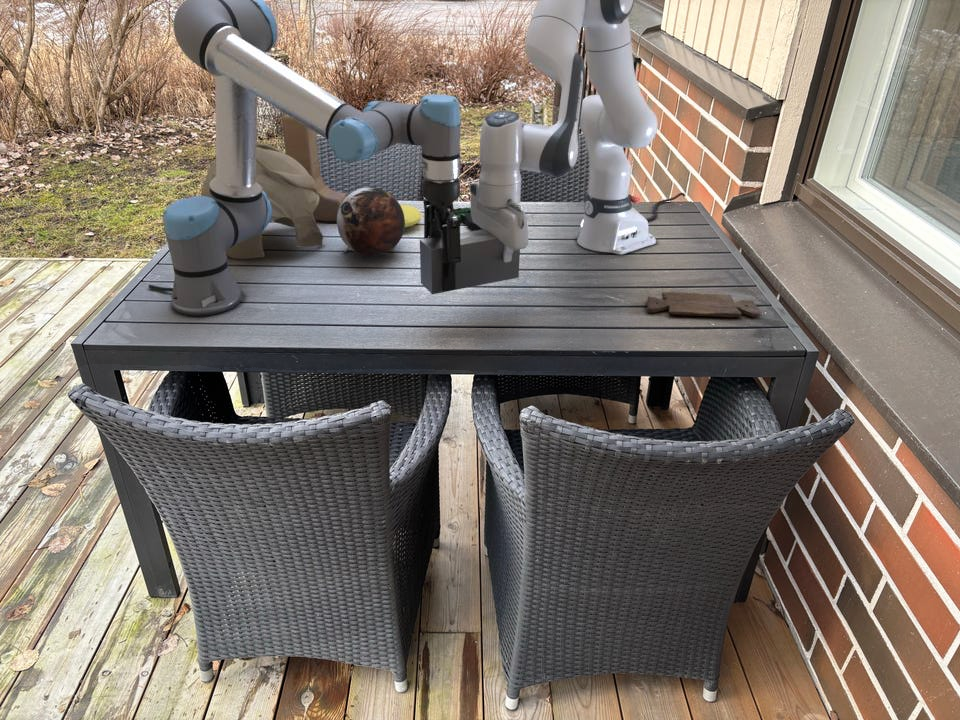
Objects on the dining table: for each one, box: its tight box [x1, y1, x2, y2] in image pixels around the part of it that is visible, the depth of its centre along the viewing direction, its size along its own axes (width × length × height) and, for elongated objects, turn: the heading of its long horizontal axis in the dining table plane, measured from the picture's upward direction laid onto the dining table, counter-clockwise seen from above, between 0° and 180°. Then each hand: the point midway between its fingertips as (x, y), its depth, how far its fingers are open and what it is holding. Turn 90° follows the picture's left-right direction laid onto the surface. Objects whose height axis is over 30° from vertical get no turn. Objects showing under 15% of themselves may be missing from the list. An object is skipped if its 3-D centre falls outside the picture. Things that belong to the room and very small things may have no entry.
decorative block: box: [280, 114, 348, 223], centre depth 209 cm, size 8×15×30 cm, turn 82°
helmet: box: [200, 141, 324, 260], centre depth 189 cm, size 27×30×30 cm
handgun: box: [454, 206, 482, 231], centre depth 216 cm, size 16×3×15 cm
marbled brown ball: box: [336, 186, 406, 257], centre depth 189 cm, size 22×18×20 cm
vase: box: [400, 204, 423, 229], centre depth 210 cm, size 16×16×7 cm
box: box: [419, 229, 521, 295], centre depth 155 cm, size 21×6×10 cm, turn 117°
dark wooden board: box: [646, 291, 762, 318], centre depth 167 cm, size 26×2×10 cm
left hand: (442, 283), depth 154 cm, fingers closed on box, 6 cm apart
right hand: (498, 254), depth 157 cm, fingers closed on box, 6 cm apart
